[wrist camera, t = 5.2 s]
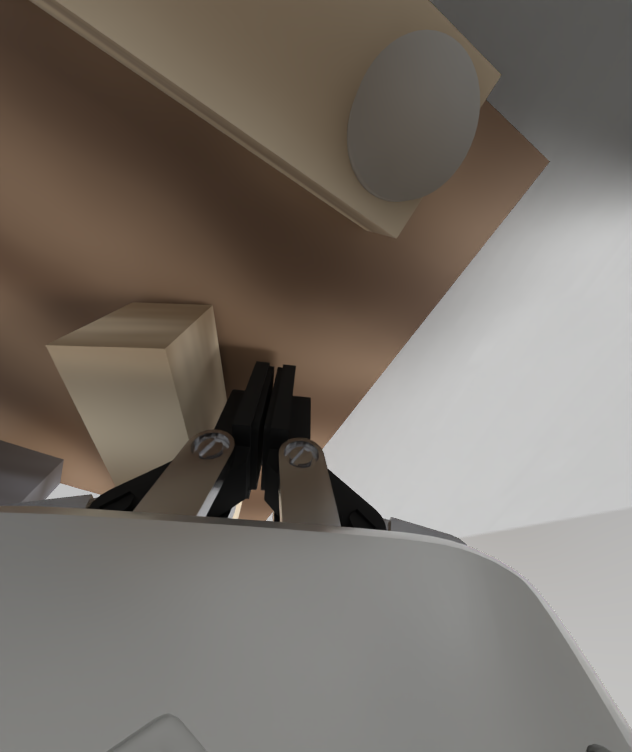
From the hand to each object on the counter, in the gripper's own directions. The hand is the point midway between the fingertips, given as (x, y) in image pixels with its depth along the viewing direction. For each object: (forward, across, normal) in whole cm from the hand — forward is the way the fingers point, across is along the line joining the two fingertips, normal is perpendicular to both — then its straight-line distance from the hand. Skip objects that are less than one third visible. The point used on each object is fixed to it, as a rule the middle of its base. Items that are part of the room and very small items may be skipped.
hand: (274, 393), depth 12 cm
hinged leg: (+1, +4, +3) cm, 5 cm away
